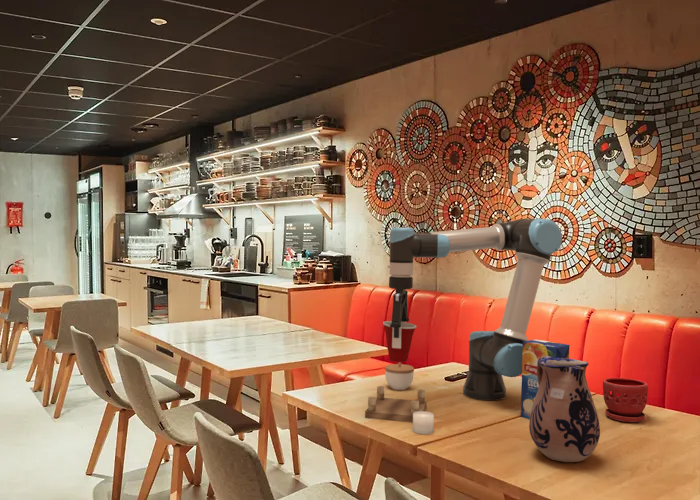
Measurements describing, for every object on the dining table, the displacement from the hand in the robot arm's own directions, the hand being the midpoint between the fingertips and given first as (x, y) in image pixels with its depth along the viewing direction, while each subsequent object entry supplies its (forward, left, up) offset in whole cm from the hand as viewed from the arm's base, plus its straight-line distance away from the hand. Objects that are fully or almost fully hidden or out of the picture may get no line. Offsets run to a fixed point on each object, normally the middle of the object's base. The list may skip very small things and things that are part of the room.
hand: (399, 344), depth 196 cm
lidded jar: (+5, -31, -22) cm, 38 cm away
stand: (0, 0, -22) cm, 22 cm away
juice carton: (-45, -8, -22) cm, 51 cm away
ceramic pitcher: (-47, +23, -22) cm, 57 cm away
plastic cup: (0, 0, -5) cm, 5 cm away
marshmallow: (-10, +15, -22) cm, 29 cm away
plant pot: (-70, -17, -22) cm, 75 cm away
